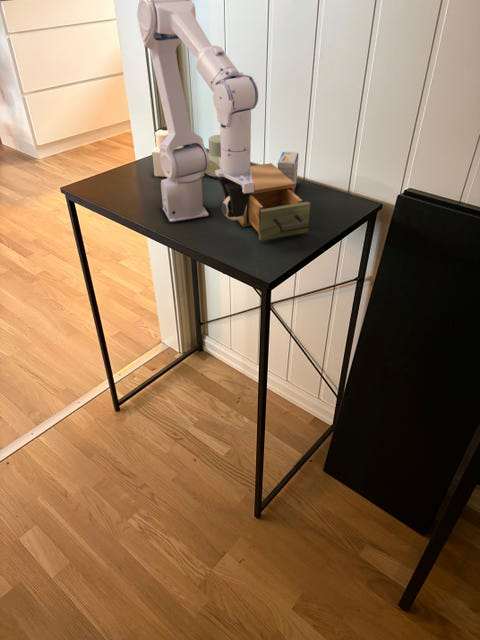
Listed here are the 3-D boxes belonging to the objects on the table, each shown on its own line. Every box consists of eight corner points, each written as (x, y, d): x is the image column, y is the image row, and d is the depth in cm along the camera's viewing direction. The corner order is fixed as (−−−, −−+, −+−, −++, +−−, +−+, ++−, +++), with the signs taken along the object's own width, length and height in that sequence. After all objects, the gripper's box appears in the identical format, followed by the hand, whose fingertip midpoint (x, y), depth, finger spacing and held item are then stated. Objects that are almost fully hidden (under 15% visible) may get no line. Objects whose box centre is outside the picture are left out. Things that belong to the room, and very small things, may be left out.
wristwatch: (221, 218, 103) (220, 195, 100) (242, 214, 105) (242, 191, 102) (227, 223, 101) (226, 200, 98) (249, 219, 103) (248, 196, 100)
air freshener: (196, 173, 138) (194, 137, 132) (215, 165, 143) (214, 130, 137) (225, 183, 133) (224, 146, 126) (244, 174, 138) (245, 138, 131)
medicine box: (293, 196, 126) (295, 163, 121) (276, 194, 127) (277, 161, 122) (296, 184, 132) (299, 152, 127) (280, 182, 133) (281, 150, 128)
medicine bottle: (160, 167, 142) (156, 124, 134) (185, 168, 141) (182, 125, 134) (154, 176, 136) (149, 132, 129) (179, 178, 136) (175, 133, 128)
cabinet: (292, 218, 117) (295, 183, 111) (243, 227, 113) (243, 191, 108) (270, 195, 127) (271, 163, 121) (223, 203, 123) (223, 169, 118)
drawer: (318, 242, 106) (321, 213, 102) (269, 251, 103) (270, 222, 98) (284, 208, 118) (286, 181, 114) (240, 216, 115) (240, 188, 111)
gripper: (204, 137, 98) (206, 201, 106) (228, 162, 87) (229, 231, 95) (237, 133, 100) (237, 196, 108) (265, 157, 89) (262, 225, 97)
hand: (235, 212), depth 102 cm, fingers closed on wristwatch, 2 cm apart
